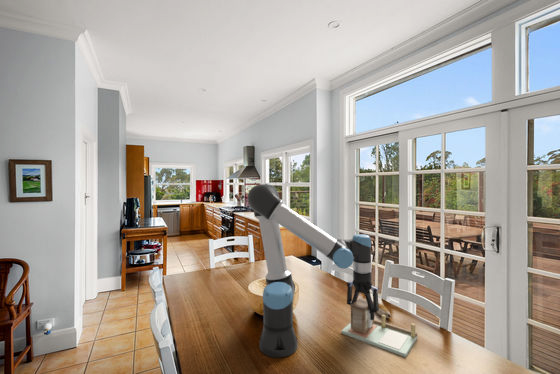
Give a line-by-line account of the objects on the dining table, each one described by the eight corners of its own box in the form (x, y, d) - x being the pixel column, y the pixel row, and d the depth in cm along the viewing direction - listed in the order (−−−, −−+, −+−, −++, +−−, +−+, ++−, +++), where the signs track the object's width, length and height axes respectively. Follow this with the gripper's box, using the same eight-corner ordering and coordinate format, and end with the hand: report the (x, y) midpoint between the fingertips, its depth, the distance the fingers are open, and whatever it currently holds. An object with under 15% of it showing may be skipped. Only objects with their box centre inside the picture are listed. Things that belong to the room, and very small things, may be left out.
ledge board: (417, 338, 113) (417, 323, 113) (405, 357, 101) (405, 340, 101) (357, 318, 130) (357, 305, 130) (341, 333, 118) (341, 318, 118)
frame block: (364, 333, 113) (364, 309, 113) (350, 328, 117) (350, 305, 117) (373, 323, 121) (373, 301, 121) (360, 319, 125) (360, 297, 125)
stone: (380, 307, 142) (380, 299, 142) (393, 321, 128) (393, 311, 128) (370, 307, 142) (370, 299, 142) (383, 321, 127) (382, 312, 127)
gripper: (387, 273, 115) (388, 327, 116) (345, 264, 128) (346, 314, 128) (381, 277, 110) (381, 335, 110) (337, 268, 122) (338, 320, 122)
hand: (362, 324), depth 119 cm, fingers closed on frame block, 6 cm apart
